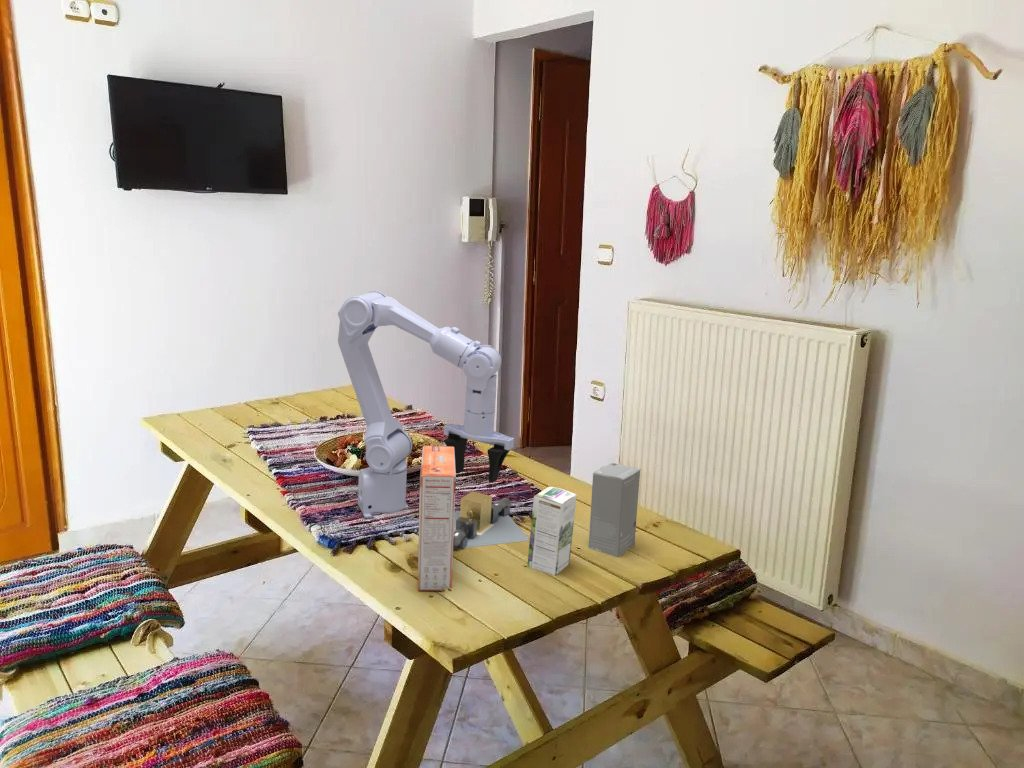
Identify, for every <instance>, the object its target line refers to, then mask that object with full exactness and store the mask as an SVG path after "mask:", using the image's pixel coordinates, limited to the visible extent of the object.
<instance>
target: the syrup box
mask: <svg viewBox="0 0 1024 768" xmlns="http://www.w3.org/2000/svg"><path fill="white" fill-rule="evenodd" d="M577 498H578V494H576V493H575V492H572V491H568V490H566V489H563V488H560V487H555V486H547V488H544V489H543V490H542V491H540V492H539V493H537V494H535V495H533V502H532V511H531V512H532V514H531V522H530V523H531V524H530V534H529V535H530V536H529V539H530V541H529V544H528V545H529V546H528V553H527V554H528V557H527V565H526V567H528V568H531V569H533V570H536V571H538V572H543V573H545V574H549V575H552V576H557V575H558V574H559V573H561V572H562V571H563V570H564V569H565V568H566V567H567V566H569V565H570V563H571V562H570V561H571V555H572V554H571V552H572V543H573V535H574V534H573V533H574V527H575V526H574V525H575V516H576V515H575V514H576V507H577V505H576V504H577Z"/></svg>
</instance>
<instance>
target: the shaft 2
mask: <svg viewBox="0 0 1024 768" xmlns="http://www.w3.org/2000/svg"><path fill="white" fill-rule="evenodd" d="M511 506H512V502H511V499H510V498H508V497H503V498H502V499H499V500H498V501H495V502H493V503H492V505H491V521H490V523H491V524H493V523H495V522H497V521H498V515H500V516H503V517H505V516H506V515H510V514H511V513H510V512H511Z"/></svg>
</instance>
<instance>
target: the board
mask: <svg viewBox="0 0 1024 768" xmlns="http://www.w3.org/2000/svg"><path fill="white" fill-rule="evenodd" d="M459 517H460V510H455V511H454V532H455V531H456V520H457V519H458V518H459ZM528 541H529V542H530V537H528V535H526V533H525V532H524V531H523V530H522V529H521V528H520V526H519V525H518V524H517V523H516V522H515V521H514V519H512V517H511V516H510V514H508V515H506V516H505V517H503V516H500V515H498V521H497V522H495V523H493V524H491V523H490V525H489V526H488V527H487V528H485V529H484V530H483V531H481V532H480V533H478V532H477V536H476V537H475V538H474V539H473V540H472V539H468V538H467V545H466V546H465V548H464V549H469V548H474V547H475V548H477V547H485V546H493V545H503V544H513V543H519V542H520V543H521V542H528ZM458 549H459V548H453V550H458Z"/></svg>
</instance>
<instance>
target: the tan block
mask: <svg viewBox="0 0 1024 768" xmlns="http://www.w3.org/2000/svg"><path fill="white" fill-rule="evenodd" d="M492 502H493V496H492V495H487V494H484V493H480V492H477V491H473V490H472V491H469V493H467V494H465V495H464V496H462V497H461V498H460V508H459V509H460V510H459V511H460V517H464V518H469V519H473V520H477V532H478V533H480V532H481V531H483V530H484V529H485V528H487V527H488V526H489V525H490V521H491V505H492V504H493V503H492Z"/></svg>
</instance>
